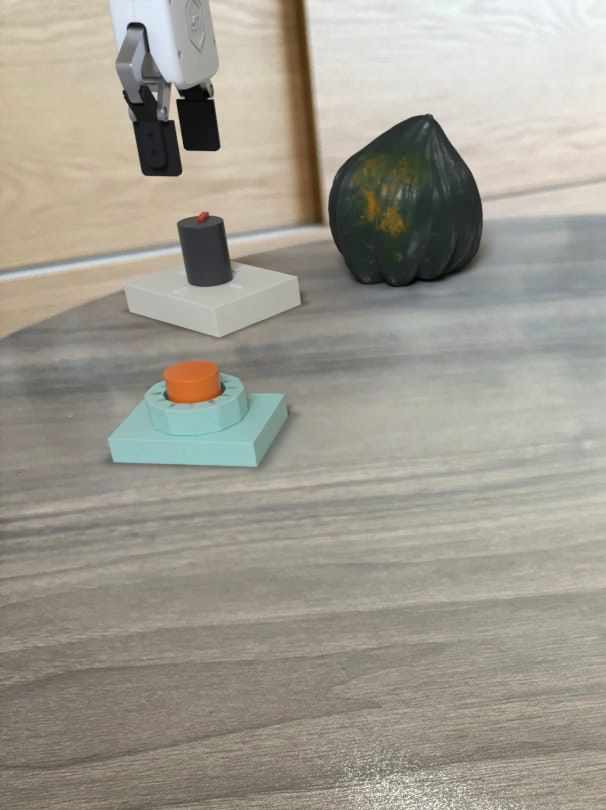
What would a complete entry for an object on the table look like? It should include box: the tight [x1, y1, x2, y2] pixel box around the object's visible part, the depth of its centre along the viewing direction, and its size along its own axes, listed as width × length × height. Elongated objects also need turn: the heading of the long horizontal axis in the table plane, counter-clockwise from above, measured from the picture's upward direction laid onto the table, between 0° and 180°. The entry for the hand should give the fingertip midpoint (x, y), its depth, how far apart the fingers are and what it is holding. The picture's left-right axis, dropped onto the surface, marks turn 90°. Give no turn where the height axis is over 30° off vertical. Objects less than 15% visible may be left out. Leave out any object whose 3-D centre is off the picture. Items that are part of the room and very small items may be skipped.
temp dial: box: [176, 211, 233, 286], centre depth 91 cm, size 4×4×5 cm
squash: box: [327, 113, 484, 287], centre depth 98 cm, size 14×15×15 cm
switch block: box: [107, 372, 289, 468], centre depth 71 cm, size 10×8×4 cm
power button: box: [162, 360, 222, 404], centre depth 70 cm, size 4×4×2 cm
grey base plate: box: [123, 260, 302, 338], centre depth 93 cm, size 12×10×3 cm
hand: (183, 162), depth 86 cm, fingers open, 9 cm apart
